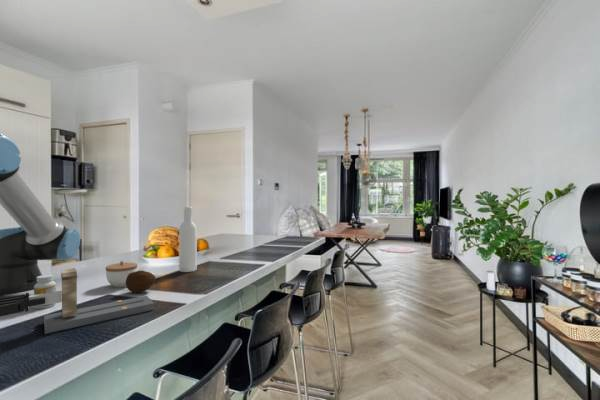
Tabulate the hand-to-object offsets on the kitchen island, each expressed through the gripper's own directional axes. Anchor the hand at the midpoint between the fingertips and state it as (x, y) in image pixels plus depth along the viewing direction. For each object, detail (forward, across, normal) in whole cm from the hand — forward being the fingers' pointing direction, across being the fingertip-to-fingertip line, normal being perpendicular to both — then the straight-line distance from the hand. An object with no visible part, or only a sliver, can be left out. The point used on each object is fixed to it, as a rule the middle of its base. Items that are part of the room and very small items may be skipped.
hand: (61, 296), depth 82 cm
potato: (+24, -18, -8) cm, 31 cm away
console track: (+10, -1, -8) cm, 12 cm away
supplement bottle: (-3, -21, -8) cm, 23 cm away
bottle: (+49, -39, -8) cm, 63 cm away
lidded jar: (+20, -32, -8) cm, 38 cm away
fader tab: (+2, -1, -5) cm, 6 cm away
